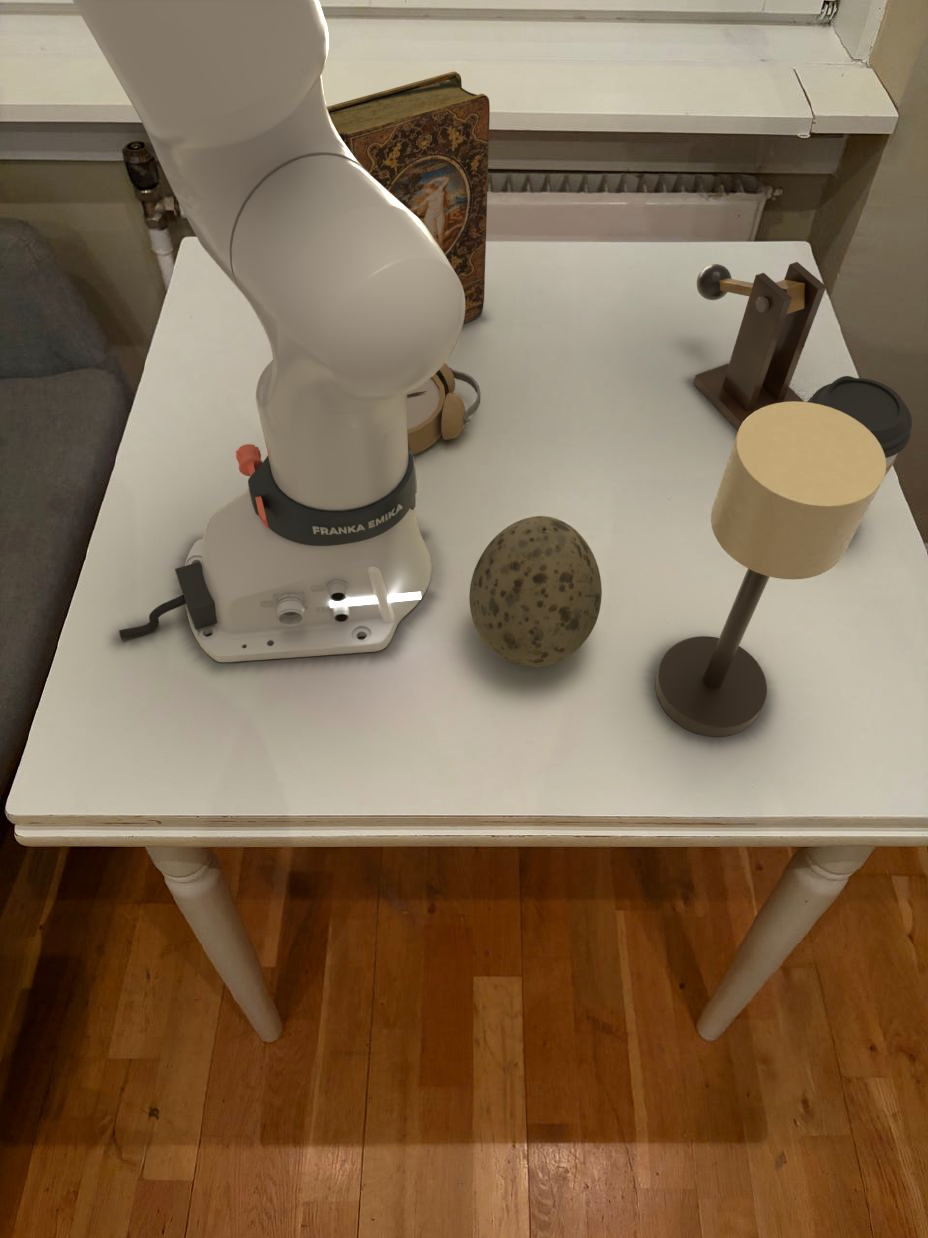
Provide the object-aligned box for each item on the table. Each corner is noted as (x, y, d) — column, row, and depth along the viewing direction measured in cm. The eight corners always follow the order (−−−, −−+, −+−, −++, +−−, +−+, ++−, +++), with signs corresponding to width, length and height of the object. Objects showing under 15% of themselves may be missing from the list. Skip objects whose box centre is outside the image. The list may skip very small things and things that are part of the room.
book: (358, 364, 104) (335, 138, 84) (335, 336, 107) (308, 111, 87) (483, 316, 109) (491, 92, 89) (458, 291, 112) (460, 68, 92)
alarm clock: (324, 374, 99) (461, 332, 99) (337, 408, 103) (468, 368, 103) (343, 449, 92) (489, 404, 92) (356, 482, 96) (496, 439, 97)
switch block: (693, 383, 103) (725, 262, 91) (752, 362, 105) (791, 242, 93) (748, 441, 98) (790, 321, 86) (809, 418, 100) (858, 298, 88)
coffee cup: (878, 528, 91) (945, 410, 79) (812, 569, 88) (871, 452, 76) (809, 471, 95) (862, 351, 83) (744, 508, 92) (789, 389, 80)
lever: (690, 301, 102) (688, 267, 100) (717, 292, 103) (716, 258, 101) (780, 322, 90) (780, 284, 88) (810, 312, 91) (810, 274, 89)
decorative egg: (557, 714, 79) (577, 607, 67) (445, 660, 82) (445, 548, 70) (610, 622, 84) (638, 508, 72) (503, 575, 87) (512, 458, 75)
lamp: (681, 748, 77) (779, 519, 54) (638, 659, 82) (711, 415, 59) (780, 721, 79) (916, 488, 56) (732, 636, 84) (839, 389, 61)
